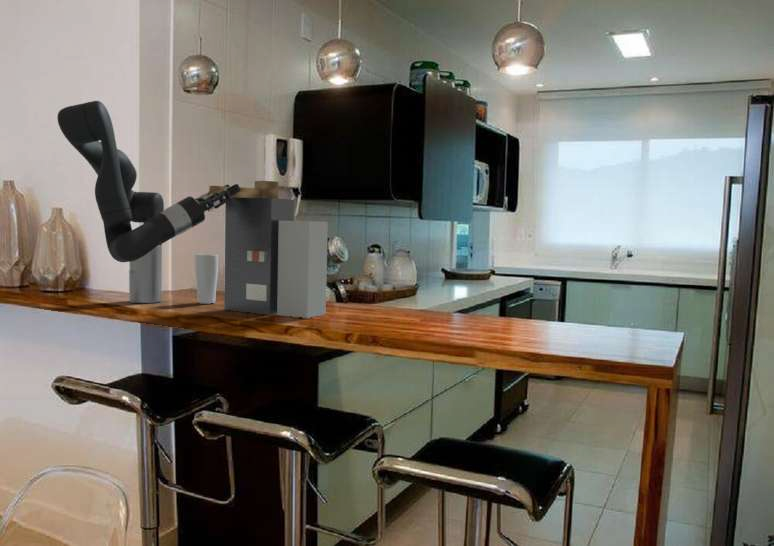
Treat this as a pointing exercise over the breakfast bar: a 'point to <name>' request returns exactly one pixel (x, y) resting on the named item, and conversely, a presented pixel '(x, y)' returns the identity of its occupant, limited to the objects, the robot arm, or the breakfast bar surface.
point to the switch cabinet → (253, 252)
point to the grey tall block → (302, 268)
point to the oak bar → (252, 190)
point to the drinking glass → (206, 277)
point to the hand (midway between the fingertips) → (233, 187)
